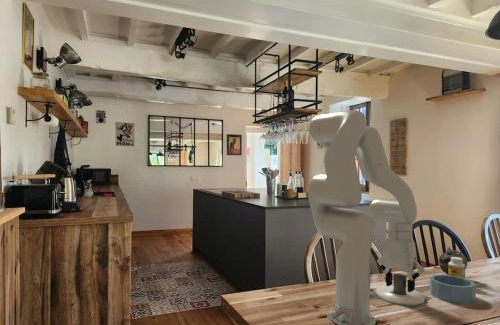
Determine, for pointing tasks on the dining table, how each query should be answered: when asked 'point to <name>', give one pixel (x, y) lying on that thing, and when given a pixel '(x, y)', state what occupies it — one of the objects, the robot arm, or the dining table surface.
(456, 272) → the supplement bottle
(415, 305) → the mat
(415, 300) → the lid
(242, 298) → the dining table surface
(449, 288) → the bowl
